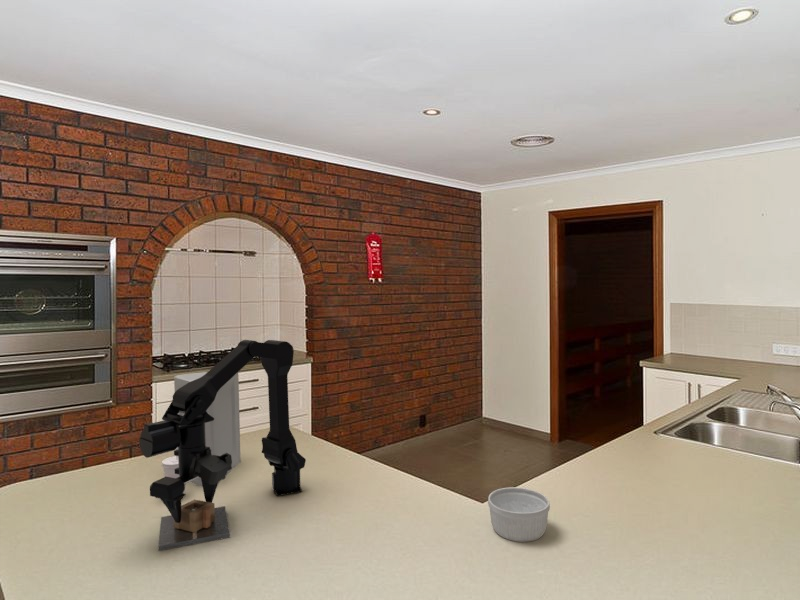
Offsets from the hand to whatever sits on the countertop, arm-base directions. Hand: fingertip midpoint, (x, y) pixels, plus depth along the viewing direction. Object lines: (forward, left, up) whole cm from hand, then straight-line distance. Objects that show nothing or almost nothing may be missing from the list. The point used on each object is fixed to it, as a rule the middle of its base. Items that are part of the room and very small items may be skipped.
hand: (194, 513), depth 116 cm
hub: (0, 0, -4) cm, 4 cm away
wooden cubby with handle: (0, 0, -2) cm, 3 cm away
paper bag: (-3, -35, -4) cm, 35 cm away
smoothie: (+4, -20, -4) cm, 21 cm away
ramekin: (-66, +29, -4) cm, 72 cm away
